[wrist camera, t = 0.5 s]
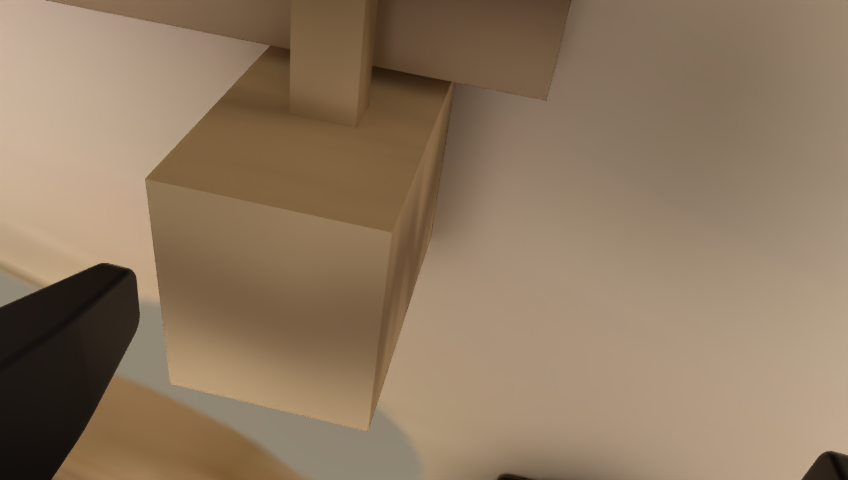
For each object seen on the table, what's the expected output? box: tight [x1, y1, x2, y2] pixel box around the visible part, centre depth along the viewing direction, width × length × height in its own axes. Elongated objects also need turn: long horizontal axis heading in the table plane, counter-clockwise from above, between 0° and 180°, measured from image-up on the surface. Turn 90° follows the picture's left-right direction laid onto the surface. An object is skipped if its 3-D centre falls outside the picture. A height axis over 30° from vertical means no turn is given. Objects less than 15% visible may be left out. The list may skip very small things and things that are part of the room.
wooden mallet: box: [145, 0, 455, 431], centre depth 17 cm, size 14×5×8 cm, turn 173°
